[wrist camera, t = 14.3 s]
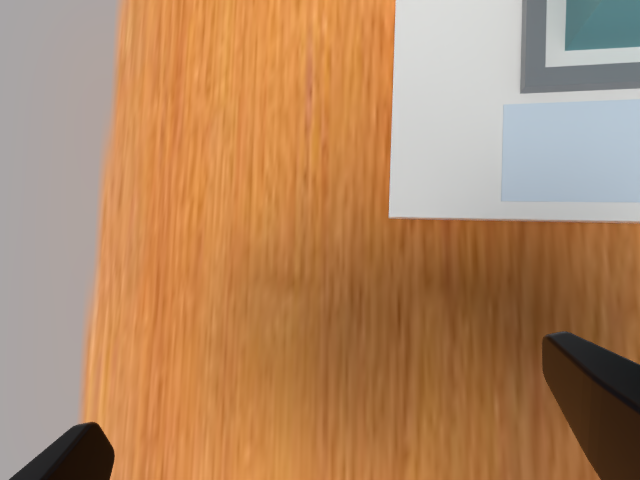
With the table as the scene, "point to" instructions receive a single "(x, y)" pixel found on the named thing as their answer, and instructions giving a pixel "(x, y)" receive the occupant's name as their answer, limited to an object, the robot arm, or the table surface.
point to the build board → (510, 117)
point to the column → (602, 24)
